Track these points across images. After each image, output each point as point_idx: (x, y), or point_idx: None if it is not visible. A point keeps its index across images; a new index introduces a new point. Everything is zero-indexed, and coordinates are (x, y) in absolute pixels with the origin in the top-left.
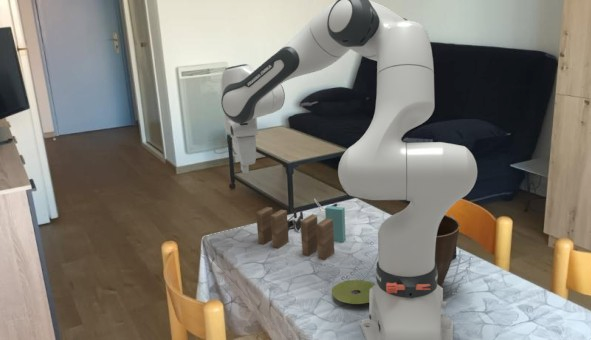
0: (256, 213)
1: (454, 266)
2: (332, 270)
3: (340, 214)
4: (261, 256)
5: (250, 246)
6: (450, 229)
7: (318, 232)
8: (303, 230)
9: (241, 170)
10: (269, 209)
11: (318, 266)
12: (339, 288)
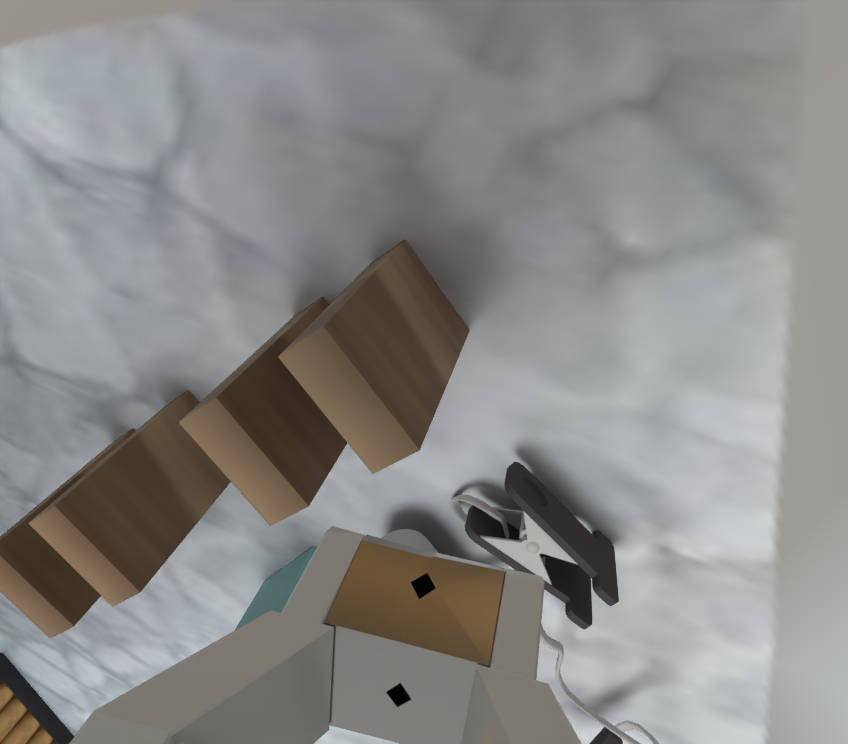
0: (323, 324)
1: None
2: (26, 428)
3: None
4: (244, 201)
5: (413, 185)
6: None
7: (23, 520)
8: (84, 477)
9: (502, 571)
10: (347, 441)
11: (69, 400)
12: None
